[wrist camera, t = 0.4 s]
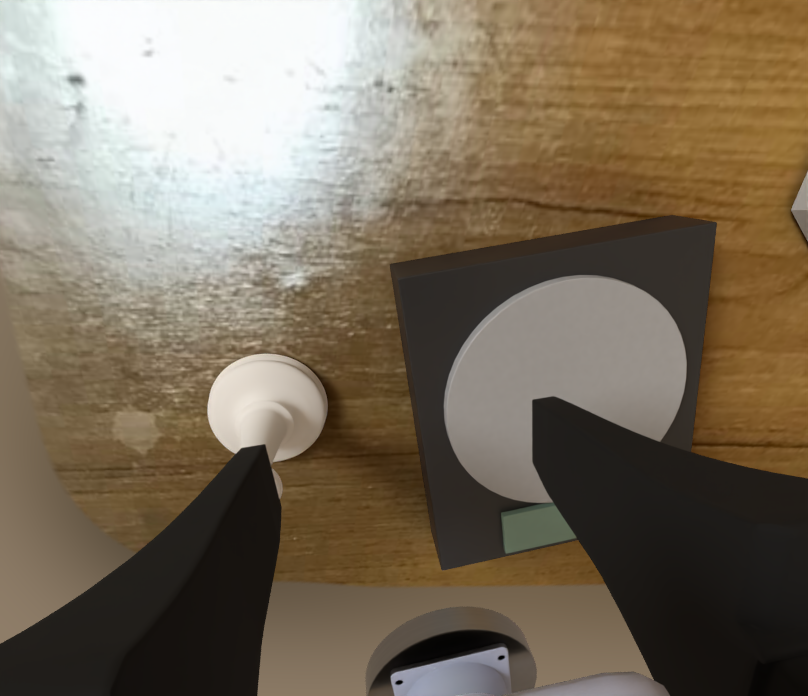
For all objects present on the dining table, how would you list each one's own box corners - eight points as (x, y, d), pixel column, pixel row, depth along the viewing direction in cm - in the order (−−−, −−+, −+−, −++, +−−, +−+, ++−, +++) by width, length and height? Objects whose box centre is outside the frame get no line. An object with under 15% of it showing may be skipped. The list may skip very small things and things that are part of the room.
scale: (651, 483, 25) (691, 524, 22) (431, 531, 24) (444, 580, 21) (672, 214, 20) (728, 223, 17) (389, 263, 19) (399, 281, 16)
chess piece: (194, 363, 19) (66, 553, 10) (316, 344, 19) (301, 508, 10) (226, 463, 21) (143, 701, 12) (336, 443, 21) (339, 658, 12)
